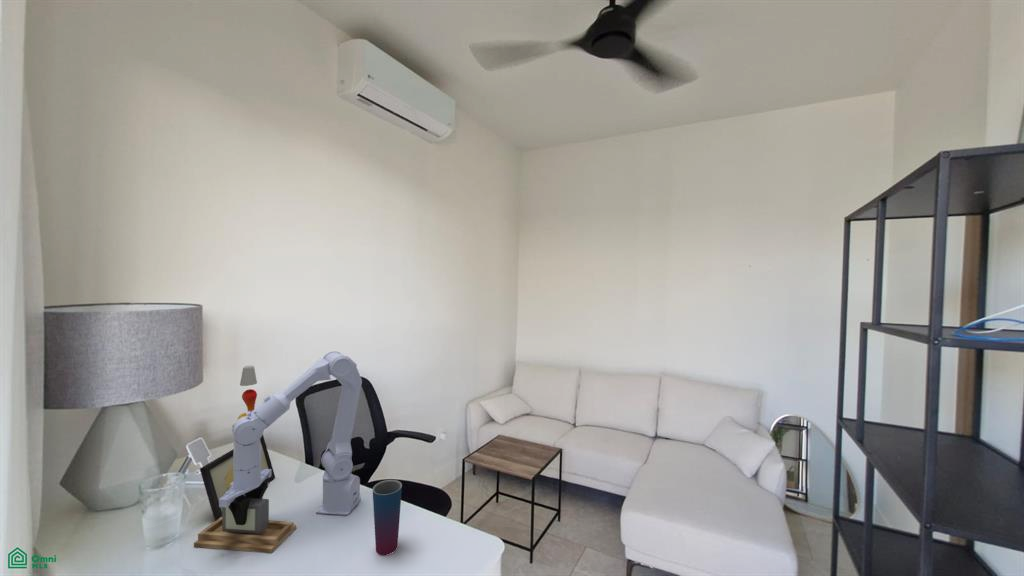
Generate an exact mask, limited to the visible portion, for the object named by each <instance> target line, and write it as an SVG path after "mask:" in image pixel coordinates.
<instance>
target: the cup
mask: <svg viewBox="0 0 1024 576" xmlns="http://www.w3.org/2000/svg"><path fill="white" fill-rule="evenodd" d="M402 488H403V484H402V482H401V481H399V480H398V479H397V480H396V479H387V480H386V479H385V480H382V481H379V482H378V483H376V484H374V486H373V487H372V502H373V503H372V505H373V522H374V538H375V542H374V543H375V551H376V554H377V555H380V556H388V555H387V554H389V555H391V554H393V553H394V552H395V551H397V549H398V547H397V546H399V545H398V544H399V533H400V531H399V530H400V517H401V503H402V491H403V490H402ZM396 548H397V549H396ZM392 552H393V553H392ZM390 553H391V554H390Z"/></svg>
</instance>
